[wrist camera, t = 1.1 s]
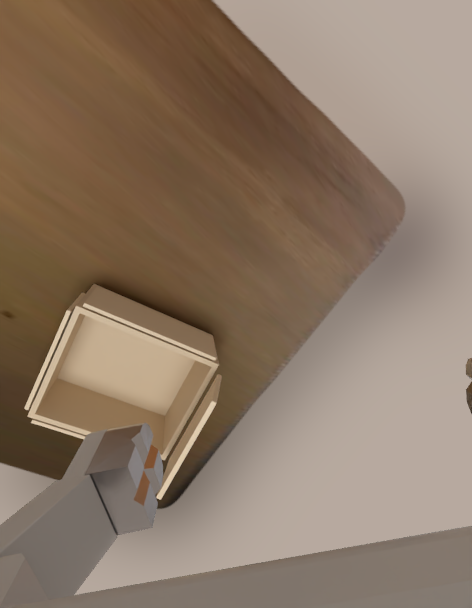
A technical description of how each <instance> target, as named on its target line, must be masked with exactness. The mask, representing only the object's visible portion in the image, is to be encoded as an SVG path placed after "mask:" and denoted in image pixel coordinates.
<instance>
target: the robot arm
mask: <svg viewBox="0 0 472 608" xmlns="http://www.w3.org/2000/svg"><path fill="white" fill-rule="evenodd" d="M466 375H467V376H468V377H469V378H470V379H471V380H472V358H470V359H468V361H467V364H466ZM466 393H467V403H468V406H469V408H470V410H471V413H472V382H471V384H470V385H469V386H468V388H467V389H466ZM152 439H153V433H152V431H151V428H150V426H149V425H148V424H147V423H140V424H135V425H129V426H123V427H118V428H112V429H109V430H108V429H106V430H101V431H96V432H91V433H90V434H88V435H87V436H86V437H85V439H84V441H83V443H82V444H81V446H80V448H79V450H78V451H77V453H76V455H75V457H74V459H73V460H72V462H71V464H70V466H69V468H68V469H67V471H66V473H65V475H64V476H63V478H62V480H59V481H55V482H54V483H52V484H51V485H50V486H49V487H48V488H46V489H45V490H44V491H43V492H41V493H40V494H39V495H37V496H36V497H35V498H34V499H33V500H31V501H30V502H29V503H28V504H26V505H25V506H24V507H22V508H21V509H20V510H19V511H17V512H16V513H15V514H14V515H12V516H11V517H10V518H9V519H7V520H6V521H5V522H4V523H3V524H1V525H0V608H472V526H468V527H462V528H456V529H451V530H444V531H439V532H433V533H428V534H421V535H416V536H410V537H404V538H399V539H393V540H387V541H382V542H376V543H370V544H365V545H359V546H353V547H347V548H342V549H336V550H330V551H325V552H319V553H313V554H308V555H302V556H296V557H291V558H285V559H279V560H273V561H268V562H262V563H256V564H250V565H245V566H239V567H233V568H228V569H222V570H216V571H210V572H205V573H199V574H193V575H187V576H182V577H176V578H170V579H164V580H159V581H153V582H147V583H142V584H136V585H130V586H124V587H119V588H113V589H107V590H101V591H96V592H90V593H85V594H79V595H74V594H75V593H76V591H77V590H78V589H79V588H80V586H81V585H82V584H83V582H84V581H85V580H86V578H87V577H88V576H89V574H90V573H91V572H92V570H93V569H94V568H95V566H96V565H97V564H98V562H99V561H100V560H101V558H102V557H103V556H104V554H105V553H106V552H107V550H108V549H109V548H110V546H111V545H112V544H113V542H114V541H115V540H116V538H117V535H121V534H125V533H130V532H135V531H139V530H143V529H148V528H152V526H153V522H154V517H155V513H156V509H157V504H158V503H157V500H156V497H155V494H156V493H157V492H158V491H159V490H160V489H161V486H162V481H163V465H162V459H161V456H160V453H159V450H158V449H157V448H156V447H154V446H153V445H151V443H152Z"/></svg>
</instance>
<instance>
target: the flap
mask: <svg viewBox="0 0 472 608" xmlns="http://www.w3.org/2000/svg"><path fill="white" fill-rule="evenodd" d="M221 378H222V376H221V375H219V374H218V375H217V376H216V378H215V380H214V382H213V383H212V385H211V387H210V389H209V390H208V392H207V394H206V396H205V398H204V399H203V401H202V403H201V405H200V406H199V408H198V410H197V412H196V413H195V415H194V417H193V419H192V420H191V422H190V424H189V426H188V427H187V429H186V431H185V433H184V434H183V436H182V438H181V440H180V441H179V443H178V445H177V447H176V449H175V450H174V452H173V454H172V456H171V457H170V459H169V462H168V465H167V468H166V470H165V473H164V476H163V481H162V486H161V489H160V490H159V491H158V494H157V497H156V498H158V499H160V500H161V498H162V497H163V495H164V493H165V491H166V490H167V488H168V486H169V485H170V483H171V481H172V479H173V478H174V476H175V474H176V472H177V471H178V469H179V467H180V466H181V464H182V462H183V460H184V459H185V457H186V455H187V454H188V452H189V450H190V448H191V447H192V445H193V443H194V441H195V440H196V438H197V436H198V435H199V433H200V431H201V429H202V428H203V426H204V424H205V423H206V421H207V419H208V417H209V416H210V414H211V412H212V410H213V409H214V407H215V405H216V404H217V399H218V394H219V389H220V383H221Z"/></svg>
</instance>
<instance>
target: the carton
mask: <svg viewBox="0 0 472 608" xmlns="http://www.w3.org/2000/svg"><path fill="white" fill-rule="evenodd" d="M218 365H219V362H218V357H217V353H216V348H215V343H214V338H213V335H211V334H209V333H206V332H204V331H202V330H200V329H197V328H195V327H193V326H190V325H188V324H186V323H183V322H181V321H179V320H177V319H174V318H172V317H170V316H167V315H165V314H163V313H160V312H158V311H156V310H154V309H151V308H149V307H147V306H144V305H142V304H140V303H137V302H135V301H133V300H131V299H128V298H126V297H124V296H121V295H119V294H117V293H114V292H112V291H110V290H108V289H105V288H103V287H101V286H98V285H96V284H93V285H92V287H91V288H90V289H89V290H88V291H87V293H86V294H85V293H83V292H82V293H81V294H80V295H79V297H78V298H77V299H76V300H75V301H74V302H73V304H72V305H71V306H70V307H69V308H68V309H67V311H66V313H65V316H64V318H63V320H62V323H61V325H60V327H59V330H58V332H57V334H56V336H55V339H54V341H53V343H52V346H51V348H50V350H49V353H48V355H47V357H46V360H45V362H44V364H43V366H42V369H41V371H40V373H39V376H38V378H37V380H36V383H35V385H34V387H33V390H32V392H31V394H30V396H29V399H28V401H27V403H26V406H25V408H24V409H26V410H28V409H29V408H30V406H31V405H32V403H33V402H34V403H33V405H32V407H31V409H30V412H29V414H28V416H27V417H30V418H33V420H32V422H31V423H34V424H37V425H40V426H43V427H46V428H50V429H53V430H56V431H59V432H62V433H65V434H69V435H72V436H75V437H78V438H81V439H85V437H86V436H87V435H88V434H90V433H91V432H96V431H101V430H106V429H108V430H109V429H112V428H118V427H123V426H129V425H135V424H140V423H147V424H148V425H149V426H150V428H151V431H152V433H153V439H152V443H151V445H153V446H154V447H156V448H157V449H158V450H159V453H160V456H161V459H163V460H165V459H166V457H167V456H168V454H169V452H170V450H171V448H172V447H173V445H174V443H175V441H176V440H177V438H178V436H179V434H180V433H181V431H182V429H183V427H184V425H185V424H186V422H187V420H188V418H189V417H190V415H191V413H192V411H193V410H194V408H195V406H196V404H197V402H198V401H199V399H200V397H201V395H202V394H203V392H204V390H205V388H206V387H207V385H208V383H209V381H210V379H211V378H212V376H213V374H214V372H215V371H216V369H217V367H218Z"/></svg>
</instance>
